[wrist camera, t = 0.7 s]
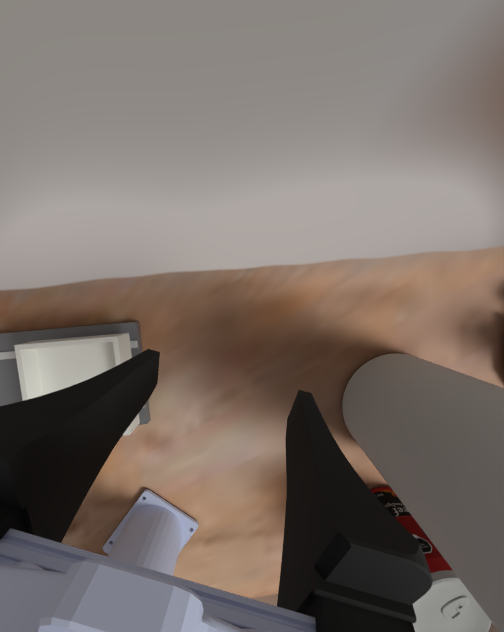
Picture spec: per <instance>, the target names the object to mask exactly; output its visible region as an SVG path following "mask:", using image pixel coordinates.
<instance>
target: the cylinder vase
mask: <svg viewBox="0 0 504 632" xmlns="http://www.w3.org/2000/svg"><path fill="white" fill-rule="evenodd" d="M342 410H343V417H344V421H345V424H346V426H347V428H348V430H349V432H350V434H351V435H352V437H353V438H354V439H355V441H356V442H357V443H358V445H359V446H360V447H361V449H362V450H363V451H364V453H365V454H366V455H367V457H368V458H369V459H370V461H371V462H372V463H373V465H374V466H375V467H376V469H377V470H378V471H379V473H380V474H381V475H382V477H383V478H384V479H385V480H386V482H387V483H388V484H389V486H390V487H391V488H392V490H393V491H394V492H395V494H396V495H397V496H398V498H399V499H400V500H401V502H402V503H403V504H404V506H405V507H406V508H407V510H408V511H409V512H410V514H411V515H412V516H413V518H414V519H415V520H416V522H417V523H418V524H419V526H420V527H421V528H422V530H423V531H424V532H425V534H426V535H427V536H428V538H429V539H430V540H431V542H432V543H433V544H434V546H435V547H436V548H437V550H438V551H439V552H440V554H441V555H442V556H443V558H444V559H445V560H446V562H447V563H448V564H449V566H450V567H451V568H452V570H453V571H454V572H455V574H456V575H457V576H458V578H459V579H460V580H461V582H462V583H463V584H464V586H465V587H466V588H467V590H468V591H469V592H470V593H471V595H472V596H473V597H474V599H475V600H476V601H477V603H478V604H479V605H480V607H481V608H482V609H483V611H484V612H485V613H486V615H487V616H488V617H489V619H490V620H491V621H492V623H493V624H494V625H495V627H496V628H497V629H498V631H499V632H504V388H502V387H499V386H496V385H494V384H491V383H488V382H485V381H482V380H479V379H477V378H474V377H471V376H468V375H465V374H463V373H460V372H457V371H454V370H451V369H449V368H446V367H443V366H440V365H437V364H434V363H432V362H429V361H426V360H423V359H420V358H418V357H415V356H412V355H407V354H399V353H394V354H386V355H382V356H378V357H376V358H374V359H371V360H370V361H368V362H366V363H365V364H363V365H362V366H361V367H360V368H359V369H358V370H357V371H356V372H355V373H354V374H353V376H352V377H351V378H350V380H349V382H348V384H347V386H346V389H345V392H344V395H343V402H342Z"/></svg>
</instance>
